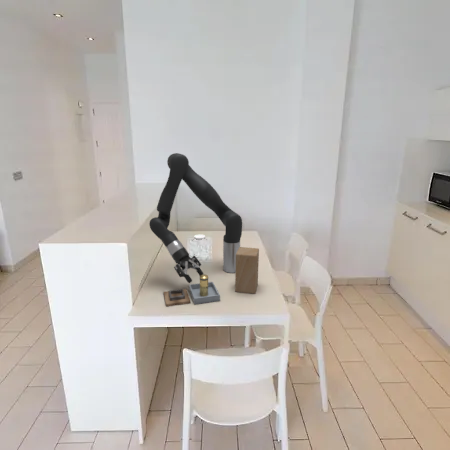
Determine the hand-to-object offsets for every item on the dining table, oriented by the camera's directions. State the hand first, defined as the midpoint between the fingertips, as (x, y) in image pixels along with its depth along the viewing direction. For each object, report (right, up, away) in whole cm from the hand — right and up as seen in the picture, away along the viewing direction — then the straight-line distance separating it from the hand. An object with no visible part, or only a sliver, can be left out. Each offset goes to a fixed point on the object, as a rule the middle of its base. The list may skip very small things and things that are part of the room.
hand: (196, 278), depth 160 cm
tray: (+4, -8, 0) cm, 9 cm away
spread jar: (-2, +8, +52) cm, 53 cm away
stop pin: (+3, -7, 0) cm, 8 cm away
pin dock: (-9, -9, -3) cm, 13 cm away
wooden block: (+24, -6, +7) cm, 26 cm away
